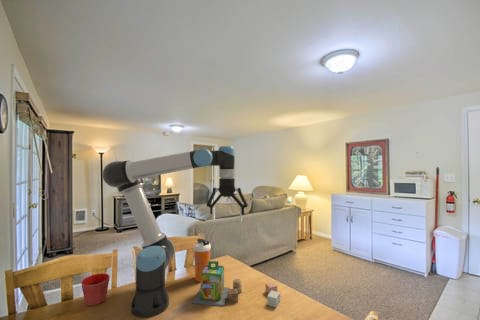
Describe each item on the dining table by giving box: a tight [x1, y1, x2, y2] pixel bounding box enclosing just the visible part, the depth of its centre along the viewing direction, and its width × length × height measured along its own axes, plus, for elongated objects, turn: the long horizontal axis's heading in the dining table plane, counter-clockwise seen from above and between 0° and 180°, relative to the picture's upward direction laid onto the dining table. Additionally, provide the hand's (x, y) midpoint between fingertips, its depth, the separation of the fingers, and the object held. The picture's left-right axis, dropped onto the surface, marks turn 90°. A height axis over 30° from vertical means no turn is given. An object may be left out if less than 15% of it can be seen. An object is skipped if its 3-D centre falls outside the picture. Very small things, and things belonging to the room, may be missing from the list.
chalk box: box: [200, 260, 225, 301], centre depth 108 cm, size 9×9×15 cm
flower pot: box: [80, 272, 111, 306], centre depth 104 cm, size 11×11×10 cm
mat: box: [192, 286, 231, 307], centre depth 108 cm, size 14×14×1 cm
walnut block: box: [227, 288, 239, 304], centre depth 105 cm, size 4×4×4 cm
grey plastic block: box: [267, 290, 281, 308], centre depth 103 cm, size 4×5×4 cm
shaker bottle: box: [193, 238, 212, 283], centre depth 124 cm, size 9×9×20 cm
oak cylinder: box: [232, 278, 243, 295], centre depth 112 cm, size 4×4×5 cm
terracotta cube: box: [265, 281, 278, 296], centre depth 111 cm, size 4×4×4 cm
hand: (227, 221), depth 116 cm, fingers open, 13 cm apart
